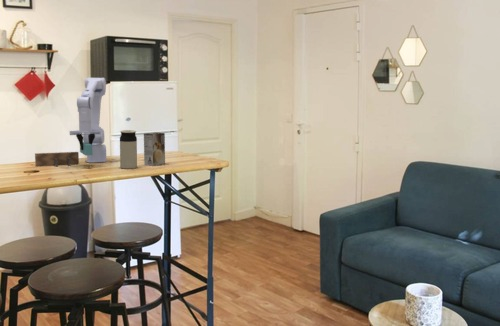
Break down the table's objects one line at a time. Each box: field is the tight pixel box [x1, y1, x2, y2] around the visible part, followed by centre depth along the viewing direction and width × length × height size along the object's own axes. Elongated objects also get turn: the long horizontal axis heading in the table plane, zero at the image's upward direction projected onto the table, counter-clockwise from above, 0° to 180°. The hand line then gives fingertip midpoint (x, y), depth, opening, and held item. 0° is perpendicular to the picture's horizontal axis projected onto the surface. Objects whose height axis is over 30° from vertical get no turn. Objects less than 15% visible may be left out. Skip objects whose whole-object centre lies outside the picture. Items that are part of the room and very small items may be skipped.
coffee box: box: [143, 132, 166, 167], centre depth 262 cm, size 9×6×16 cm
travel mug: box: [119, 129, 138, 170], centre depth 250 cm, size 8×8×18 cm
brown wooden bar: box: [34, 151, 80, 168], centre depth 253 cm, size 20×6×6 cm, turn 118°
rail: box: [79, 141, 92, 157], centre depth 251 cm, size 3×15×5 cm, turn 28°
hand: (86, 149), depth 251 cm, fingers closed on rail, 3 cm apart
